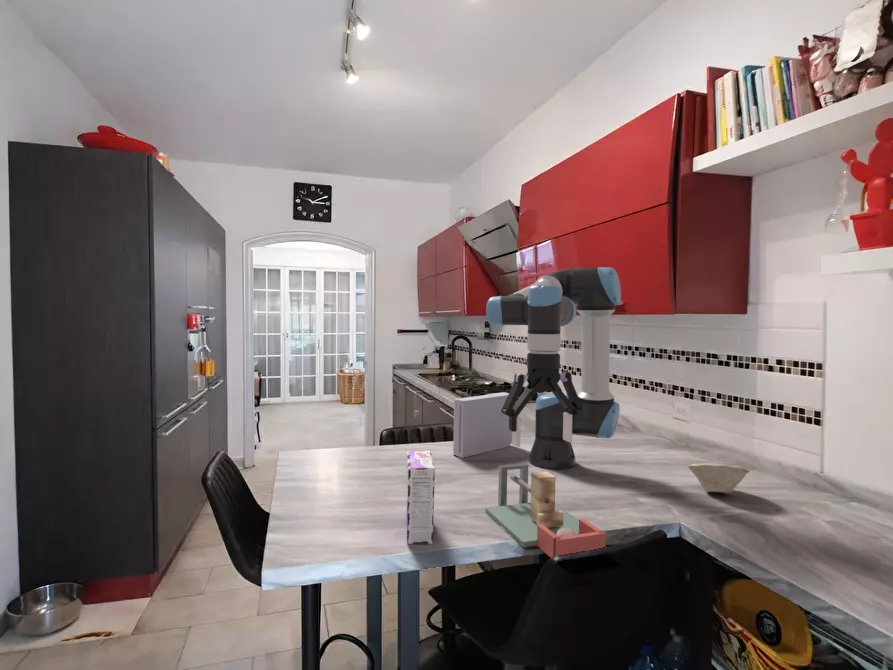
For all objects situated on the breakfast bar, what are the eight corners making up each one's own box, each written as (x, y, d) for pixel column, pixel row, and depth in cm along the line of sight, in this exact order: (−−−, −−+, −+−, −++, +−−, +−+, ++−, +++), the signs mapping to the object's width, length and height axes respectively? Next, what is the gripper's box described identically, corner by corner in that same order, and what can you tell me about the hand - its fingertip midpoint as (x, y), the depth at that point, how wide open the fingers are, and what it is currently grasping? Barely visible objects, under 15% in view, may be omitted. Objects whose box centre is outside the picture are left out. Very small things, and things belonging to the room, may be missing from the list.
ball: (581, 537, 103) (575, 549, 105) (572, 521, 106) (566, 533, 108) (564, 539, 102) (559, 552, 104) (555, 523, 105) (550, 536, 107)
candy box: (406, 518, 118) (406, 450, 118) (430, 518, 119) (431, 450, 118) (406, 545, 105) (407, 467, 104) (434, 544, 105) (435, 467, 105)
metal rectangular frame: (524, 502, 131) (525, 463, 130) (527, 504, 129) (528, 465, 129) (498, 505, 128) (499, 465, 128) (500, 507, 127) (501, 467, 126)
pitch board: (549, 505, 129) (549, 500, 129) (596, 536, 110) (596, 531, 110) (485, 512, 123) (485, 507, 123) (523, 547, 104) (523, 542, 104)
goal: (583, 538, 109) (583, 518, 109) (605, 554, 102) (605, 533, 101) (537, 545, 105) (537, 525, 105) (556, 562, 98) (556, 540, 98)
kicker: (521, 495, 130) (522, 455, 130) (563, 525, 112) (564, 478, 111) (500, 497, 129) (501, 457, 128) (539, 528, 110) (540, 481, 109)
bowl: (741, 488, 144) (742, 454, 144) (754, 505, 131) (755, 467, 131) (684, 482, 149) (685, 449, 149) (691, 497, 136) (692, 461, 135)
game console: (450, 455, 175) (451, 398, 175) (501, 443, 194) (502, 392, 193) (462, 458, 171) (463, 400, 171) (513, 445, 190) (514, 393, 189)
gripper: (580, 350, 123) (578, 435, 124) (487, 351, 115) (486, 443, 116) (598, 352, 116) (597, 442, 117) (501, 354, 108) (500, 451, 109)
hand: (542, 443), depth 116 cm, fingers open, 13 cm apart
